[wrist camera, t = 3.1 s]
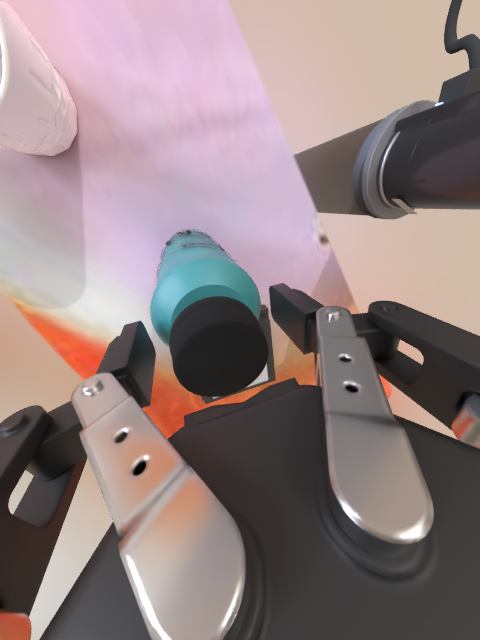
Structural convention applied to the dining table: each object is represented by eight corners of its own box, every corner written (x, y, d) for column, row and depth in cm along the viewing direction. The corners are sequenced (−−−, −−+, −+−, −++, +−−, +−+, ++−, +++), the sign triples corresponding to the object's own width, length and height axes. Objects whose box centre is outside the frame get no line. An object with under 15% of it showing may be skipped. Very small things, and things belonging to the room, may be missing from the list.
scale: (176, 328, 29) (177, 340, 26) (264, 304, 31) (272, 313, 28) (202, 394, 36) (204, 408, 34) (271, 371, 38) (278, 383, 36)
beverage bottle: (221, 278, 27) (300, 399, 10) (168, 286, 26) (161, 441, 9) (214, 223, 24) (314, 270, 7) (154, 230, 22) (98, 306, 6)
